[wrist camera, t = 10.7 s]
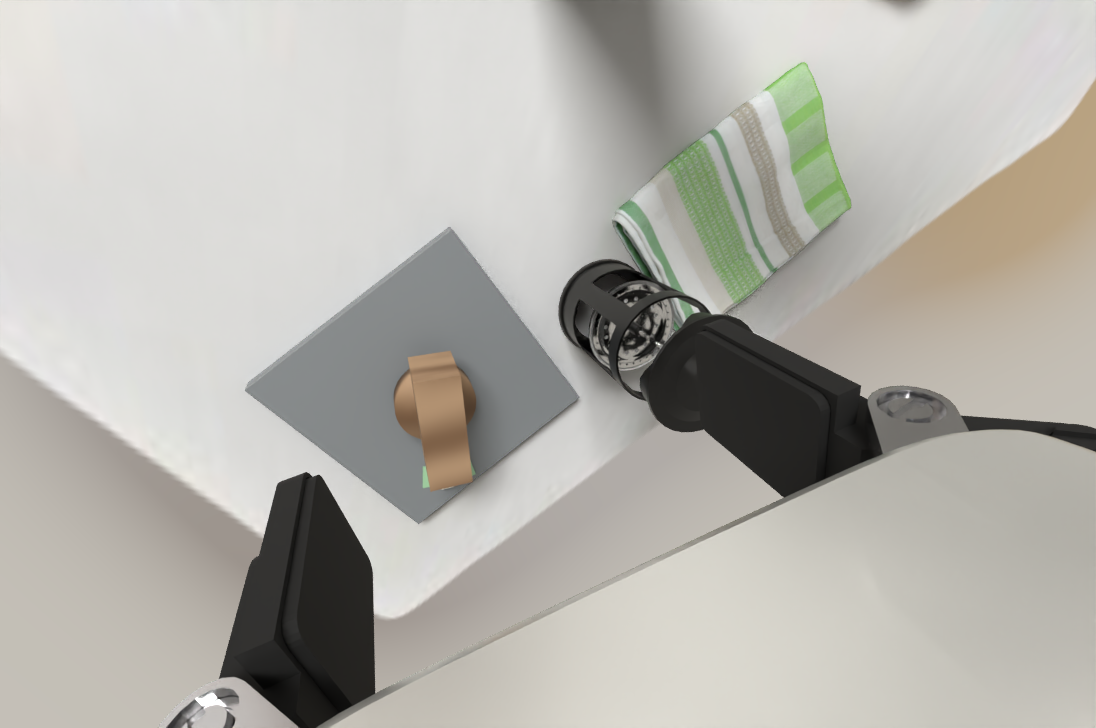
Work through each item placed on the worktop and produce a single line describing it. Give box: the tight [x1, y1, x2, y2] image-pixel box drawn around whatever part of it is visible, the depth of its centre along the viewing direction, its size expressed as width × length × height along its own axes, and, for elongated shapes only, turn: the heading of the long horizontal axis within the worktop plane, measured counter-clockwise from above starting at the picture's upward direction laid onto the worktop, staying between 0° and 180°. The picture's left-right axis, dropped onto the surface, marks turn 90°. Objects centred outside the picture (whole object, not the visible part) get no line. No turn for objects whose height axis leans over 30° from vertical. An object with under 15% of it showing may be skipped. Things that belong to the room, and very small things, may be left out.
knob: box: [393, 351, 476, 492], centre depth 42 cm, size 15×7×7 cm, turn 2°
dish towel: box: [612, 62, 851, 331], centre depth 47 cm, size 17×23×4 cm
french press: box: [559, 259, 753, 432], centre depth 38 cm, size 12×9×23 cm
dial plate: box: [245, 227, 579, 524], centre depth 44 cm, size 21×21×2 cm
